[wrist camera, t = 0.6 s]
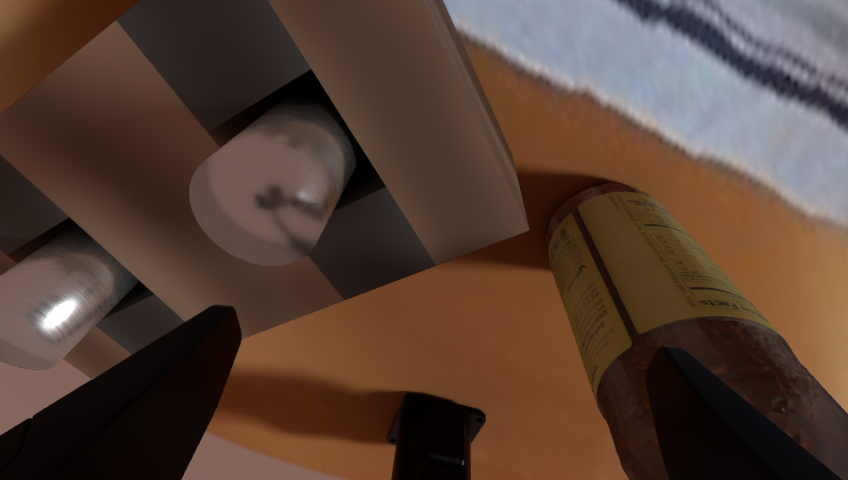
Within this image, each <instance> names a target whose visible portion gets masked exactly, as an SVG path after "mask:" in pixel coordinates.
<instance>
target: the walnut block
mask: <svg viewBox="0 0 848 480" xmlns="http://www.w3.org/2000/svg"><path fill="white" fill-rule="evenodd" d="M310 69H312V71H313V72H314V74H315V75H316V77H317V78H318V80H319V82H320V83H321V85H322V86H323V88H324V89H325V91H326V93H327V94H328V96H329V97H330V99H331V100H332V102H333V104H334V105H335V107H336V108H337V110H338V111H339V113H340V115H341V116H342V118H343V119H344V121H345V122H346V124H347V126H348V127H349V129H350V130H351V132H352V134H353V135H354V137H355V138H356V140H357V141H358V143H359V145H360V146H361V148H362V149H363V151H364V152H363V154H362V156H361V158H360V160H359V161H358V163H357V165H356V167H355V169H354V171H353V173H352V175H351V177H350V179H349V181H348V183H347V185H346V187H345V189H344V191H343V193H342V195H341V197H340V199H339V200H338V202H337V204H336V206H335V208H334V210H333V212H332V214H331V216H330V218H329V220H328V222H327V224H326V226H325V228H324V230H323V232H322V234H321V236H320V238H319V239H318V241H317V243H316V245H315V247H314V248H313V249H312V251H311V252H310V253H309V254H308V255H306V256H305V257H303V258H302V259H300V260H298V261H296V262H293V263H291V264H287V265H281V266H265V265H258V264H254V263H250V262H247V261H244V260H242V259H239V258H237V257H235V256H233V255H231V254H229V253H228V252H226V251H225V250H223V249H222V248H220V247H219V246H218V245H217V244H215V243H214V242H213V241H212V240H211V239H210V238H209V237H208V236H207V234H206V233H205V232H204V231H203V230H202V228H201V227H200V225H199V224H198V222H197V220H196V218H195V216H194V214H193V211H192V208H191V204H190V198H189V187H190V183H191V179H192V177H193V174H194V172H195V171H196V169H197V168H198V167H199V166H200V165H201V164H202V163H203V162H204V161H205V160H206V159H208V158H209V157H210V156H211V155H213V154H214V153H215V152H216V151H218V150H219V149H220V148H221V147H223V146H224V145H225V144H226V143H228V142H229V141H230V140H231V139H233V138H234V137H235V136H236V135H238V134H239V133H240V132H241V131H243V130H244V129H245V128H247V127H248V126H249V125H250V124H252V123H253V122H254V121H255V120H257V119H258V118H259V117H260V116H262V115H263V114H264V113H265V112H267V111H268V110H269V109H270V108H272V107H273V106H274V105H275V104H277V103H278V102H279V101H280V100H282V99H283V98H284V97H285V96H287V95H288V94H289V93H290V92H289V91H288V89H287V88H286V86H285V85H286V84H287V83H289V82H291V81H292V80H294V79H295V78H297V77H299V76H300V75H302V74H304V73H305V72H307V71H308V70H310ZM75 223H77V224H78V225H79V226H80V227H81V228H82V229H83V230H84V231H86V232H87V233H88V234H89V235H90V236H91V237H92V238H93V239H94V240H96V241H97V242H98V243H99V244H100V245H101V246H102V247H103V248H104V249H105V250H107V251H108V252H109V253H110V254H111V255H112V256H113V257H114V258H115V259H116V260H118V261H119V262H120V263H121V264H122V265H123V266H124V267H125V268H126V269H128V270H129V271H130V272H131V273H132V274H133V275H134V276H135V277H136V278H137V279H139V280H140V281H139V282H138V283H137V284H136V285H135V286H134V287H133V288H132V289H131V290H130V291H129V292H128V293H127V294H126V295H125V296H124V297H123V298H122V299H121V300H120V301H119V302H118V303H117V304H116V305H115V306H114V307H113V308H112V309H111V310H110V311H109V312H108V313H107V314H106V315H105V316H104V317H103V318H102V319H101V320H100V321H99V322H98V323H97V324H96V325H95V326H94V327H93V328H92V329H91V330H90V331H89V332H88V333H87V334H86V335H85V336H84V337H83V338H82V339H81V341H80V342H79V343H78V344H77V345H76V346H75V347H74V348H73V349H72V350H71V351H70V352H69V353H68V354H67V355H66V356H65V357H64V358H63V359H65V360H66V361H67V362H69V363H70V364H72V365H73V366H74V367H76V368H77V369H78V370H80V371H81V372H83V373H84V374H86V375H87V376H88V377H90V378H91V379H93V378H95V377H96V376H98V375H100V374H101V373H103V372H105V371H106V370H108V369H109V368H111V367H113V366H114V365H116V364H118V363H119V362H121V361H122V360H124V359H126V358H127V357H129V356H130V355H132V354H134V353H135V352H137V351H139V350H140V349H142V348H143V347H145V346H147V345H148V344H150V343H152V342H153V341H155V340H156V339H158V338H160V337H161V336H163V335H165V334H166V333H168V332H169V331H171V330H173V329H174V328H176V327H178V326H179V325H181V324H182V323H184V322H186V321H187V320H189V319H191V318H192V317H194V316H195V315H197V314H199V313H200V312H202V311H204V310H205V309H207V308H208V307H210V306H212V305H216V304H219V305H230V306H233V307H234V308H235V310H236V313H237V317H238V320H239V324H240V328H241V332H242V339H244V338H246V337H249V336H251V335H254V334H257V333H259V332H262V331H265V330H267V329H270V328H273V327H275V326H278V325H281V324H283V323H286V322H289V321H291V320H294V319H296V318H299V317H302V316H304V315H307V314H310V313H312V312H315V311H318V310H320V309H323V308H326V307H328V306H331V305H333V304H336V303H339V302H341V301H344V300H347V299H349V298H352V297H355V296H357V295H360V294H363V293H365V292H368V291H370V290H373V289H376V288H378V287H381V286H384V285H386V284H389V283H392V282H394V281H397V280H400V279H402V278H405V277H407V276H410V275H413V274H415V273H418V272H421V271H423V270H426V269H429V268H431V267H434V266H437V265H439V264H442V263H444V262H447V261H450V260H452V259H455V258H458V257H460V256H463V255H466V254H468V253H471V252H474V251H476V250H479V249H481V248H484V247H487V246H489V245H492V244H495V243H497V242H500V241H503V240H505V239H508V238H511V237H513V236H516V235H518V234H521V233H524V232H526V231H529V230H530V229H529V225H528V221H527V217H526V212H525V208H524V204H523V199H522V195H521V191H520V187H519V182H518V178H517V174H516V169H515V165H514V161H513V157H512V153H511V151H510V149H509V147H508V144H507V142H506V140H505V138H504V136H503V133H502V131H501V129H500V127H499V124H498V122H497V120H496V118H495V116H494V113H493V111H492V109H491V107H490V104H489V102H488V100H487V98H486V95H485V93H484V91H483V89H482V87H481V84H480V82H479V80H478V78H477V75H476V73H475V71H474V69H473V66H472V64H471V62H470V60H469V58H468V55H467V53H466V51H465V49H464V46H463V44H462V42H461V40H460V37H459V35H458V33H457V31H456V29H455V26H454V24H453V22H452V20H451V17H450V15H449V13H448V11H447V8H446V6H445V4H444V2H443V0H140V1H139V2H138V3H137V4H135V5H134V6H133V7H132V8H130V9H129V10H128V11H127V12H125V13H124V14H123V15H122V16H121V17H119V18H118V19H117V20H116V21H114V22H113V23H112V24H111V25H109V26H108V27H107V28H106V29H105V30H103V31H102V32H101V33H100V34H98V35H97V36H96V37H95V38H93V39H92V40H91V41H90V42H89V43H87V44H86V45H85V46H84V47H82V48H81V49H80V50H79V51H77V52H76V53H75V54H74V55H73V56H71V57H70V58H69V59H68V60H66V61H65V62H64V63H63V64H61V65H60V66H59V67H58V68H57V69H55V70H54V71H53V72H52V73H50V74H49V75H48V76H47V77H45V78H44V79H43V80H42V81H40V82H39V83H38V84H37V85H36V86H34V87H33V88H32V89H31V90H29V91H28V92H27V93H26V94H24V95H23V96H22V97H21V98H20V99H18V100H17V101H16V102H15V103H13V104H12V105H11V106H10V107H8V108H7V109H6V110H5V111H4V112H2V113H1V114H0V275H2V274H3V273H5V272H6V271H8V270H9V269H10V268H12V267H13V266H15V265H16V264H18V263H19V262H21V261H22V260H23V259H25V258H26V257H28V256H29V255H31V254H32V253H34V252H35V251H36V250H38V249H39V248H41V247H42V246H44V245H45V244H47V243H48V242H49V241H51V240H52V239H54V238H55V237H57V236H58V235H60V234H61V233H62V232H64V231H65V230H67V229H68V228H70V227H71V226H73V225H74V224H75Z"/></svg>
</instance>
